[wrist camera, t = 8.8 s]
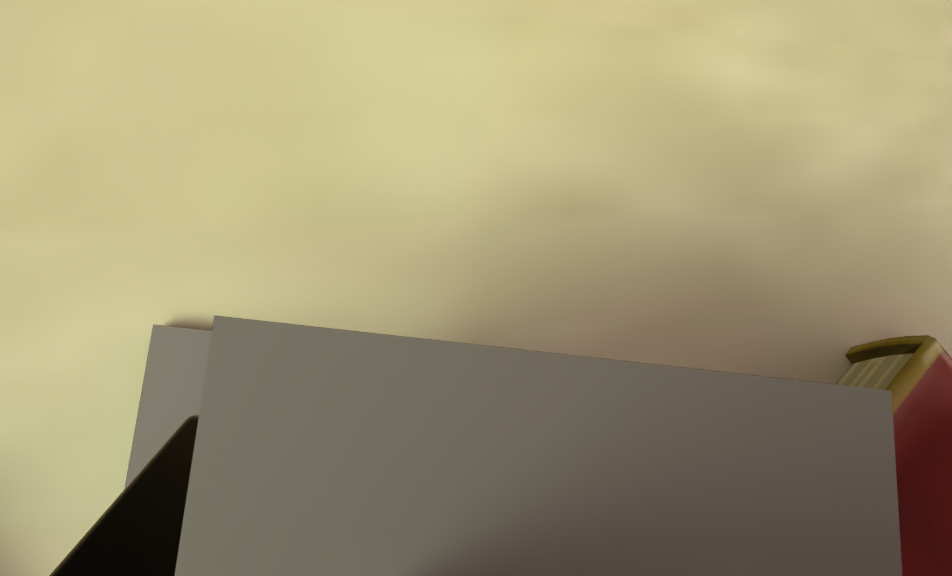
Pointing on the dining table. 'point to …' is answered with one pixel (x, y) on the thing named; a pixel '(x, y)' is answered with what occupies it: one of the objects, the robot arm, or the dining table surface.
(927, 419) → the hardcover book
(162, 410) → the plate
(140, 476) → the robot arm
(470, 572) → the grey tall piece
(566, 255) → the dining table surface
